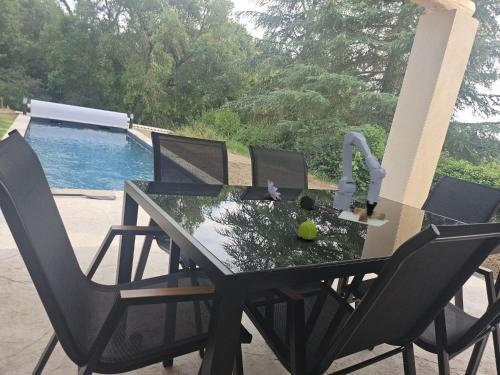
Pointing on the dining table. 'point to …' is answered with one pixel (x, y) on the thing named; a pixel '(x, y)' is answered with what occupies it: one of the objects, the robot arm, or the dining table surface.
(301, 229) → the tennis ball
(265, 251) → the dining table surface
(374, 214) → the rod
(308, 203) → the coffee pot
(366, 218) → the ridge
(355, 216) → the slab
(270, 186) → the water lily
